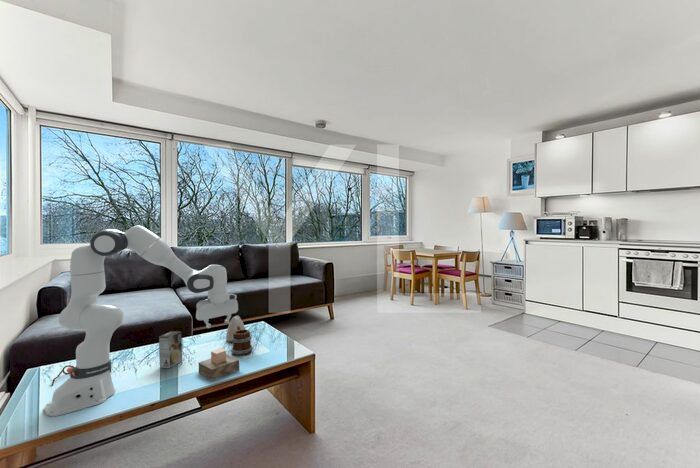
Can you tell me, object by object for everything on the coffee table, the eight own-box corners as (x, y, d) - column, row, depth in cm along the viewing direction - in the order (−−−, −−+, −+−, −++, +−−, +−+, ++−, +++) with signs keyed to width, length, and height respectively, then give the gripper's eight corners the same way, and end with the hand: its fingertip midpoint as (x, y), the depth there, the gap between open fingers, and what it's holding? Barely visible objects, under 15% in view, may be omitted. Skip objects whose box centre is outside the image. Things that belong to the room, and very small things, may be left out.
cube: (216, 364, 156) (216, 353, 155) (211, 361, 159) (211, 351, 159) (226, 360, 159) (225, 350, 159) (220, 358, 163) (220, 348, 163)
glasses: (96, 370, 163) (95, 361, 163) (86, 382, 151) (85, 371, 151) (63, 375, 158) (63, 365, 158) (50, 387, 146) (50, 376, 146)
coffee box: (172, 360, 173) (171, 330, 173) (182, 361, 172) (182, 331, 172) (159, 367, 164) (158, 336, 164) (170, 368, 163) (169, 337, 163)
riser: (212, 380, 150) (212, 369, 150) (198, 372, 158) (198, 362, 158) (239, 369, 161) (239, 359, 160) (225, 363, 169) (225, 353, 169)
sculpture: (232, 335, 212) (231, 312, 212) (249, 335, 211) (249, 313, 211) (222, 342, 199) (222, 318, 199) (241, 342, 198) (240, 318, 198)
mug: (233, 358, 174) (231, 329, 176) (228, 354, 186) (227, 327, 188) (255, 353, 180) (253, 326, 182) (249, 350, 192) (247, 324, 194)
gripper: (199, 301, 148) (200, 331, 148) (239, 294, 164) (239, 322, 164) (193, 300, 152) (193, 329, 152) (232, 293, 168) (233, 320, 168)
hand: (217, 325), depth 158 cm, fingers open, 8 cm apart
